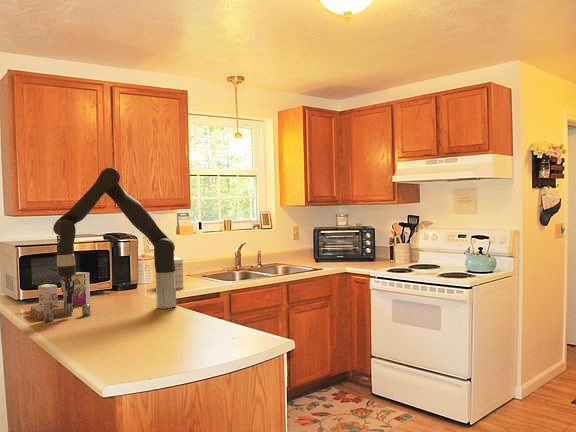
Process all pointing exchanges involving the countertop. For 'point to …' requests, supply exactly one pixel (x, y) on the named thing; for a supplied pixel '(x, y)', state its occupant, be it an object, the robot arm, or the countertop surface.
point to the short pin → (86, 310)
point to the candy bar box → (81, 288)
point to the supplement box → (178, 272)
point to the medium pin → (48, 312)
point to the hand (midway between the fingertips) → (68, 302)
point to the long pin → (68, 307)
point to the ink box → (47, 294)
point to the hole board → (57, 311)
